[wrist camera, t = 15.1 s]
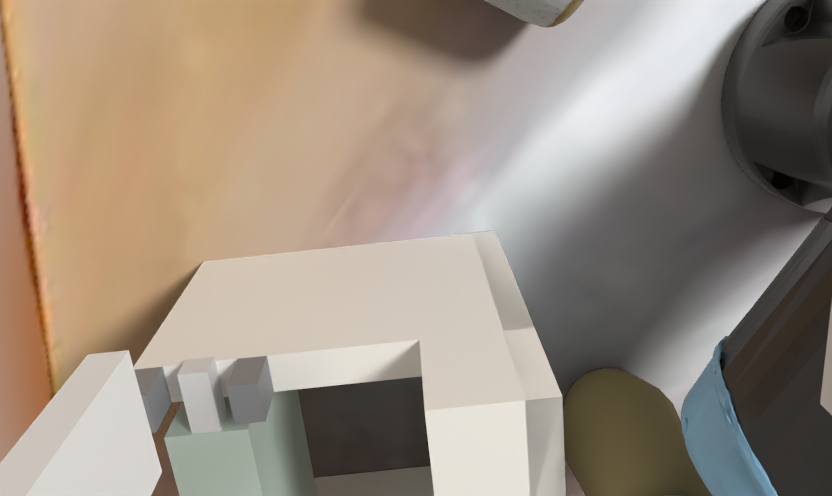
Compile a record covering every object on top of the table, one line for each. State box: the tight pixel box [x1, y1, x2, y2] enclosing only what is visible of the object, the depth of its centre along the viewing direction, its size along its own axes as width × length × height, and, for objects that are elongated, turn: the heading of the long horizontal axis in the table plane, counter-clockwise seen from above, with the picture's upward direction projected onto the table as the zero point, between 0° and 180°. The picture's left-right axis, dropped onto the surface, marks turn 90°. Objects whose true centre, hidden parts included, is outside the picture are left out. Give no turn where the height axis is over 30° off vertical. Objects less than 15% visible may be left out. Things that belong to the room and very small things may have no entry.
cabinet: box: [133, 231, 566, 496], centre depth 42 cm, size 19×20×20 cm
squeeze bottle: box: [563, 368, 712, 496], centre depth 44 cm, size 8×8×18 cm
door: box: [164, 357, 317, 496], centre depth 42 cm, size 4×20×12 cm, turn 6°
